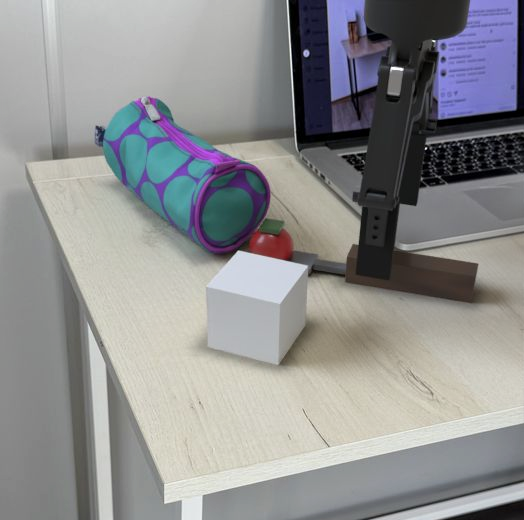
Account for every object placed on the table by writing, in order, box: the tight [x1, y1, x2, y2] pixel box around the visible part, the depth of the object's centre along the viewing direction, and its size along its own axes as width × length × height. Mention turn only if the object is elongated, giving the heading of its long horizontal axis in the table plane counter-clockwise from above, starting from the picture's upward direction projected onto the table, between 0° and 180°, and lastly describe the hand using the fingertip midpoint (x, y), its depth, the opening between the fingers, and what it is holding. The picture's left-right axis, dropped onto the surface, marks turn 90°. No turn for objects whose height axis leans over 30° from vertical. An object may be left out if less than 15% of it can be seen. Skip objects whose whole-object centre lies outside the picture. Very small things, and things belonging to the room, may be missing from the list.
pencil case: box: [93, 95, 272, 255], centre depth 86 cm, size 21×9×10 cm, turn 33°
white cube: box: [205, 250, 309, 366], centre depth 69 cm, size 6×6×6 cm
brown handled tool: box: [247, 217, 479, 304], centre depth 77 cm, size 20×4×4 cm, turn 73°
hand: (388, 236), depth 75 cm, fingers open, 13 cm apart
